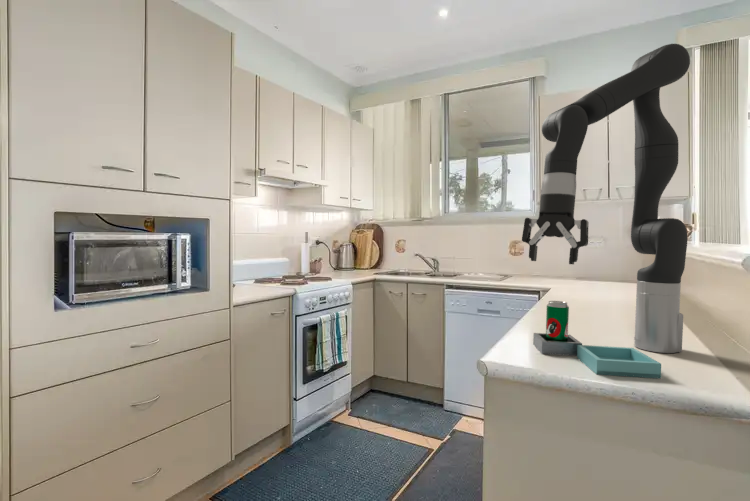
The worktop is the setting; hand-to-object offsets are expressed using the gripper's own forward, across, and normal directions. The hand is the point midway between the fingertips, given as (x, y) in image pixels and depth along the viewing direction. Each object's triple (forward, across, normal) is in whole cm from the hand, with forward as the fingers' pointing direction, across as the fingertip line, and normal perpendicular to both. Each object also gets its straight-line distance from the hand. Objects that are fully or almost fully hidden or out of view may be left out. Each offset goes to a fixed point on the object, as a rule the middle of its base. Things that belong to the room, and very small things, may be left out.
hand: (551, 262), depth 97 cm
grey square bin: (+22, -1, -6) cm, 23 cm away
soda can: (+22, -1, -6) cm, 23 cm away
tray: (+21, -15, 0) cm, 26 cm away
